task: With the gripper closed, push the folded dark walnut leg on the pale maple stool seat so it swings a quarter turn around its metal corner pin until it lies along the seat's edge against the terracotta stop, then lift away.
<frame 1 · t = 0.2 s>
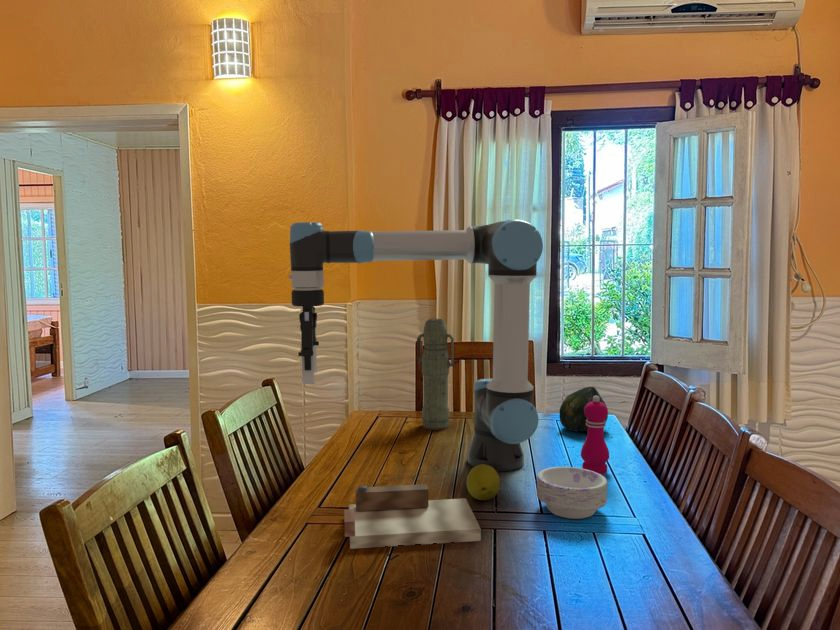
hand: (309, 378, 156), 28 cm above the table, fingers open, 13 cm apart
squash: (583, 430, 209), on the table
walnut leg: (391, 496, 142), point 5 cm above the table, hinge at 0.0°
thermos: (435, 426, 215), on the table
lemon: (482, 500, 153), on the table
pepper mill: (594, 471, 172), on the table
stool seat: (411, 527, 138), on the table
paper bowls: (570, 511, 146), on the table
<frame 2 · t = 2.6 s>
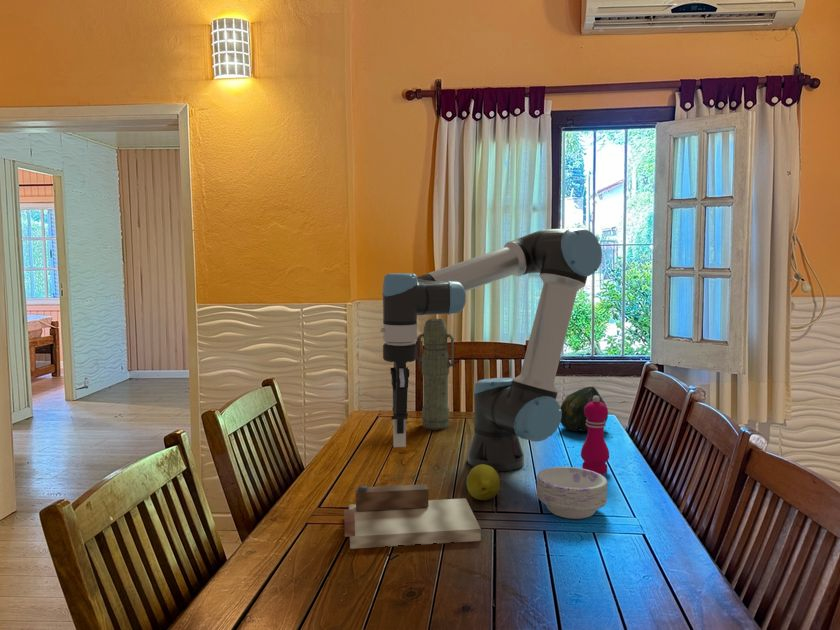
hand: (399, 445, 149), 14 cm above the table, fingers closed
nothing on the table moved.
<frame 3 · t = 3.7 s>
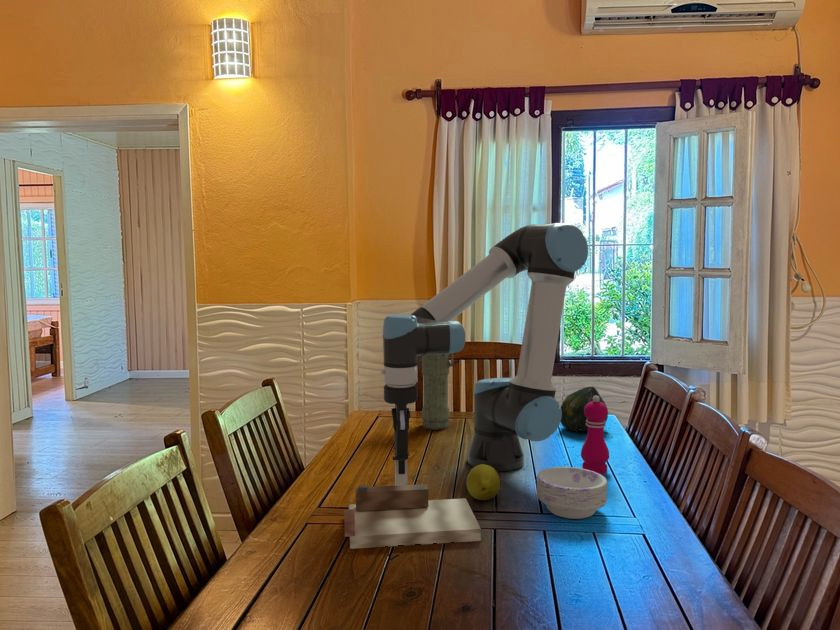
hand: (401, 485, 150), 4 cm above the table, fingers closed
nothing on the table moved.
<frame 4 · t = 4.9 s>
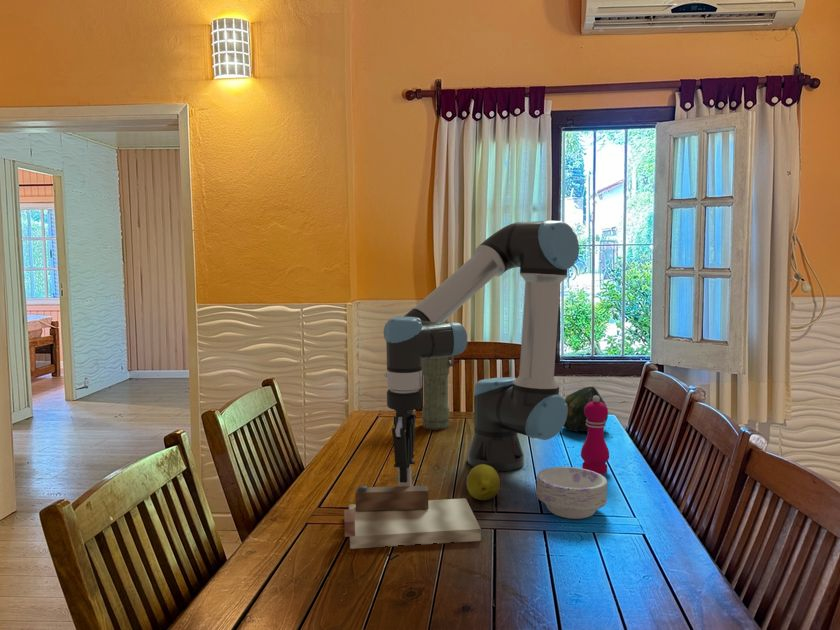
hand: (404, 494, 144), 5 cm above the table, fingers closed
walnut leg: (392, 496, 141), point 5 cm above the table, hinge at 4.0°, touching gripper
everything else where it was.
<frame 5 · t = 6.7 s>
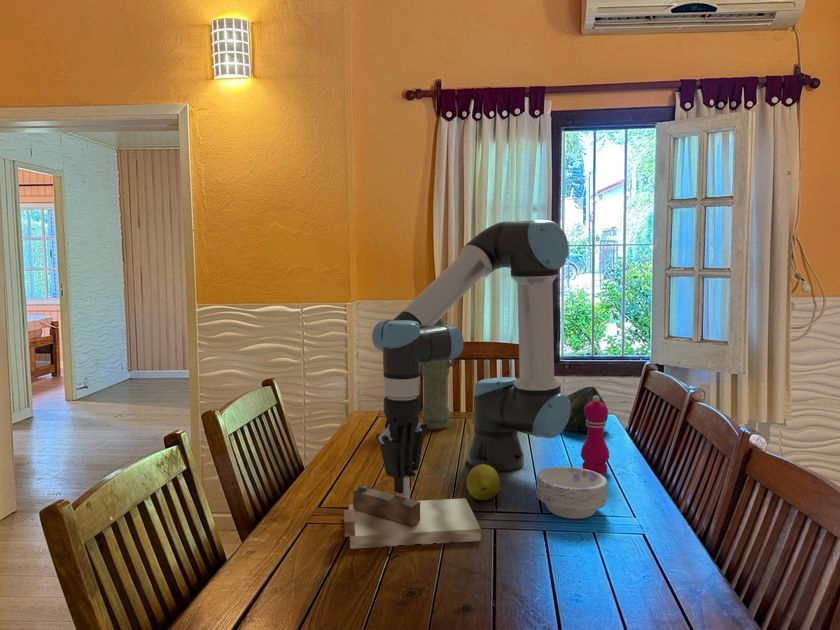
hand: (403, 506, 138), 4 cm above the table, fingers closed
walnut leg: (385, 504, 138), point 5 cm above the table, hinge at 42.1°, touching gripper
everything else where it was.
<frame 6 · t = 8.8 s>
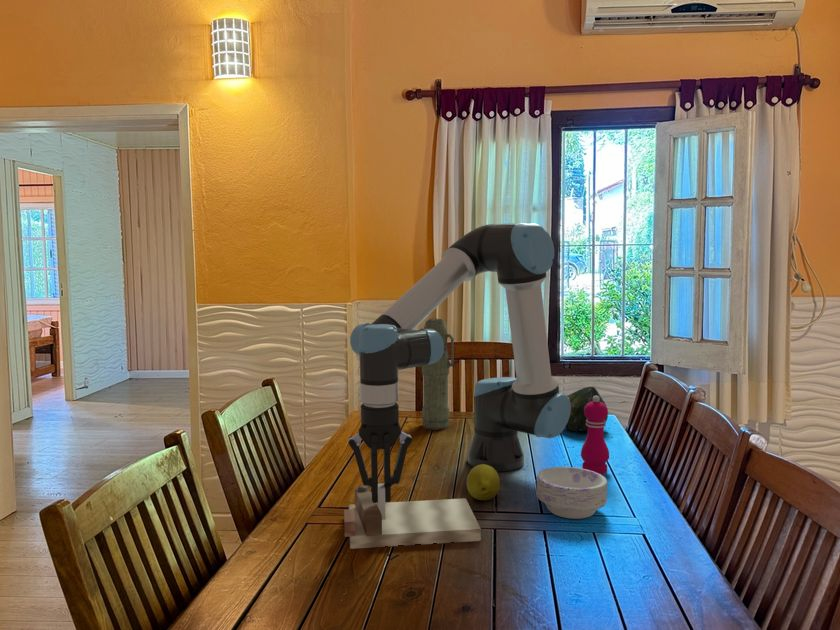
hand: (381, 516, 133), 4 cm above the table, fingers closed
walnut leg: (367, 508, 135), point 5 cm above the table, hinge at 82.9°, touching gripper
everything else where it was.
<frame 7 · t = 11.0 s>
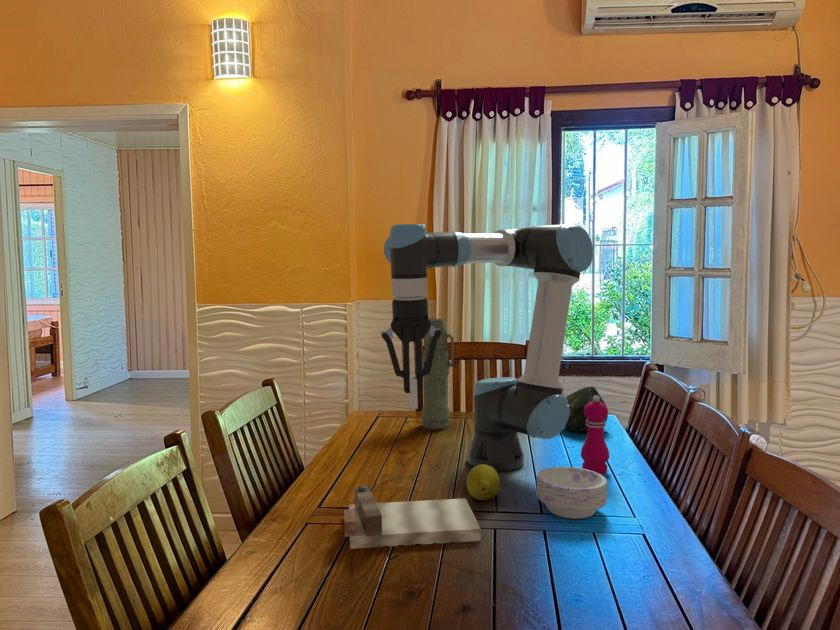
hand: (413, 407, 141), 24 cm above the table, fingers closed
walnut leg: (367, 508, 135), point 5 cm above the table, hinge at 82.9°
everything else where it was.
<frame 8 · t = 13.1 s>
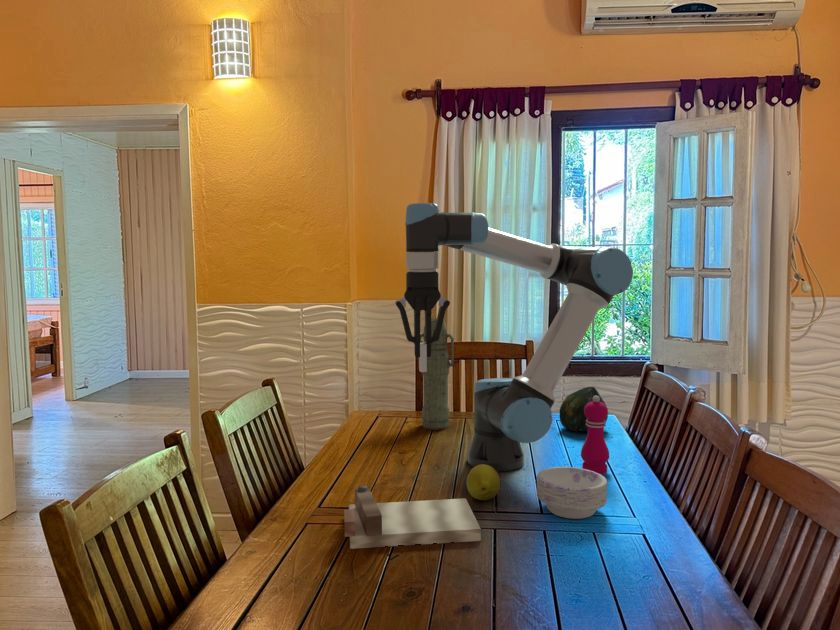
hand: (422, 370, 155), 29 cm above the table, fingers closed
nothing on the table moved.
at the end: walnut leg at +83° (first picture: +0°) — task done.
